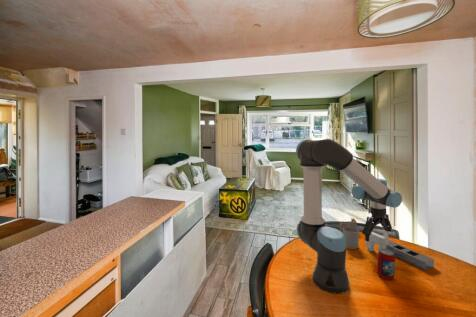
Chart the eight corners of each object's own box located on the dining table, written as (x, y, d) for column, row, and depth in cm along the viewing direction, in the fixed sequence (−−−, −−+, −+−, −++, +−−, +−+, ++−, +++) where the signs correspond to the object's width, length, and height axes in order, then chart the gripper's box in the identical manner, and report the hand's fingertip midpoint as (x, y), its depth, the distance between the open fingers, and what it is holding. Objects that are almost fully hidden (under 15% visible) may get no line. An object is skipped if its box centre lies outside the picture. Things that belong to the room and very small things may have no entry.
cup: (360, 249, 126) (360, 232, 125) (344, 248, 128) (345, 231, 127) (355, 242, 134) (356, 226, 133) (341, 241, 136) (341, 226, 135)
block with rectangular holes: (424, 270, 105) (425, 262, 105) (381, 249, 126) (381, 242, 126) (433, 267, 108) (434, 259, 108) (389, 246, 128) (389, 240, 128)
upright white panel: (385, 256, 118) (386, 237, 117) (381, 257, 117) (382, 238, 116) (371, 248, 126) (371, 231, 125) (367, 249, 125) (368, 232, 124)
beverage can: (386, 282, 97) (387, 256, 96) (373, 273, 104) (374, 249, 103) (398, 279, 99) (399, 254, 98) (384, 270, 106) (385, 247, 105)
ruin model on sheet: (353, 231, 151) (353, 217, 150) (356, 233, 148) (356, 219, 147) (338, 232, 149) (339, 219, 148) (341, 234, 146) (341, 220, 145)
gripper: (367, 212, 112) (366, 251, 114) (400, 206, 120) (398, 242, 122) (355, 208, 119) (354, 245, 121) (387, 202, 127) (385, 237, 129)
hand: (376, 244), depth 121 cm, fingers open, 13 cm apart
